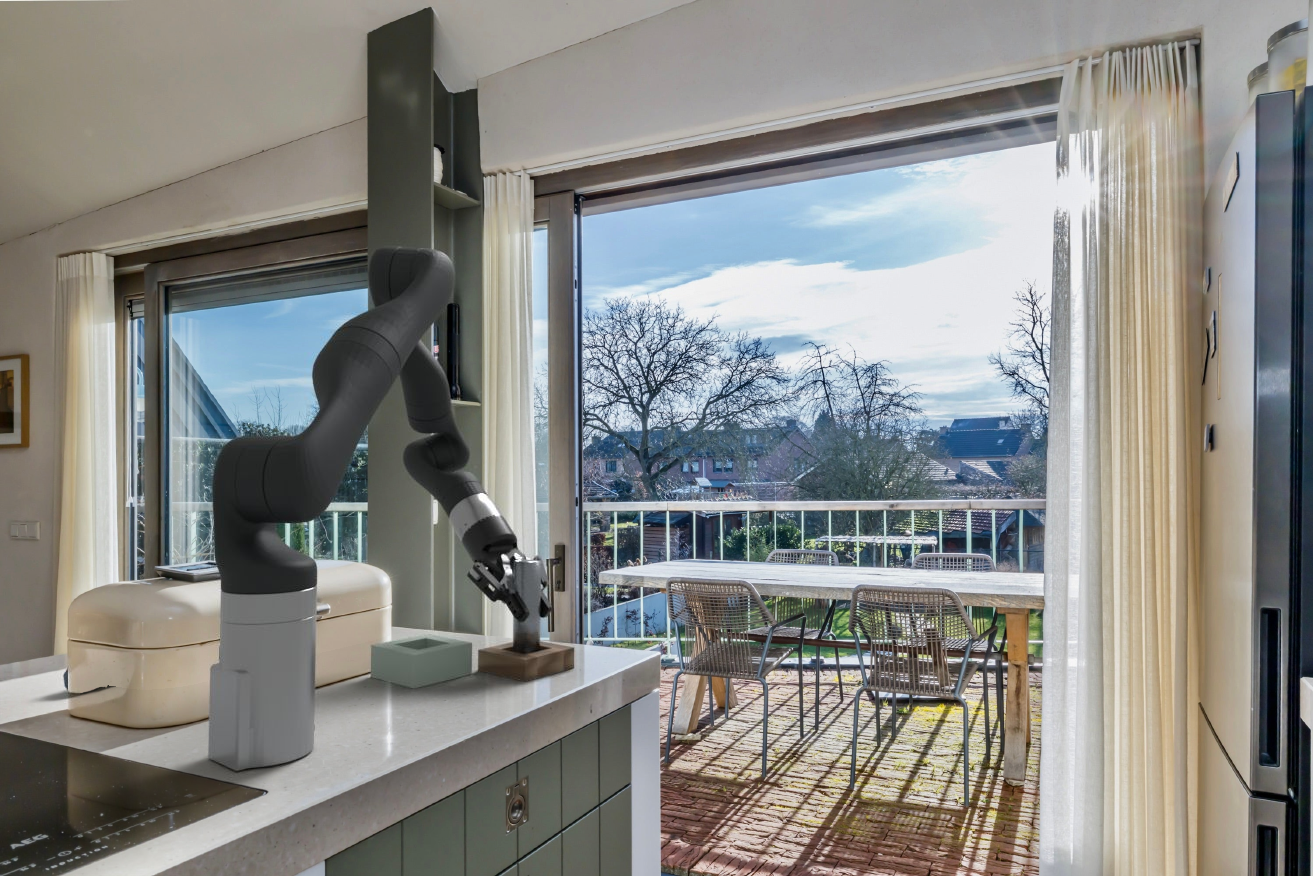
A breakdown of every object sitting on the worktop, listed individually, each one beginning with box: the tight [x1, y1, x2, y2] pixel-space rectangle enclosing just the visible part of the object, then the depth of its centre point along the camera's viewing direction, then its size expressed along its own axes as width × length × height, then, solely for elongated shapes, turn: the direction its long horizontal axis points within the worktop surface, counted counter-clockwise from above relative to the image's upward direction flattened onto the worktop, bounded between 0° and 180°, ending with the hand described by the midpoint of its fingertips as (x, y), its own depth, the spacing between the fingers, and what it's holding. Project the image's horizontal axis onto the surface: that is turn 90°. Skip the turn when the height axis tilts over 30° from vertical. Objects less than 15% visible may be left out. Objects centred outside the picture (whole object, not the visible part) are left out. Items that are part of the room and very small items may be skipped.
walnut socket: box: [477, 640, 575, 682], centre depth 123 cm, size 10×10×3 cm
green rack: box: [370, 633, 473, 689], centre depth 119 cm, size 10×10×4 cm
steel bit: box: [512, 560, 541, 654], centre depth 123 cm, size 4×4×16 cm
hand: (536, 615), depth 122 cm, fingers closed on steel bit, 4 cm apart
